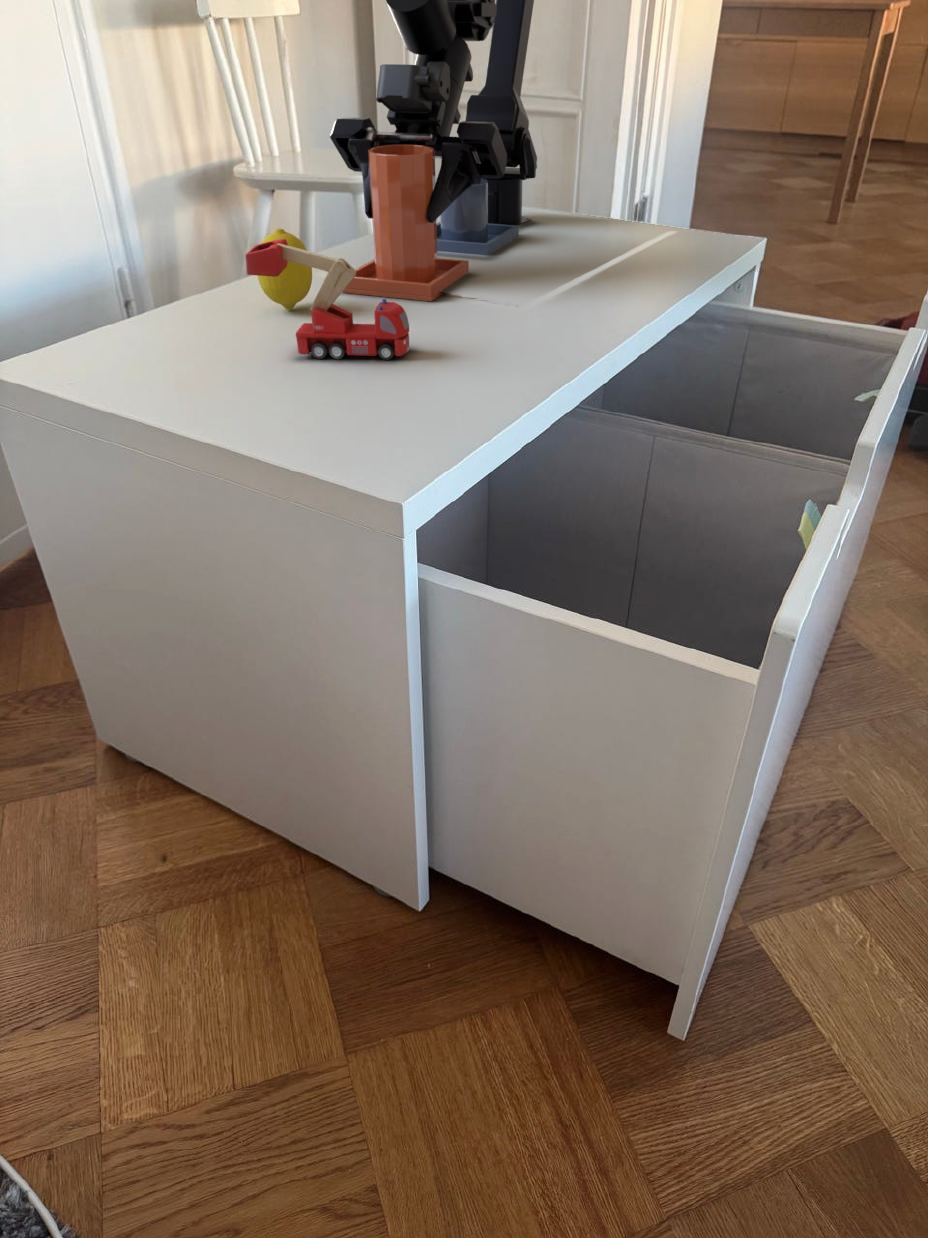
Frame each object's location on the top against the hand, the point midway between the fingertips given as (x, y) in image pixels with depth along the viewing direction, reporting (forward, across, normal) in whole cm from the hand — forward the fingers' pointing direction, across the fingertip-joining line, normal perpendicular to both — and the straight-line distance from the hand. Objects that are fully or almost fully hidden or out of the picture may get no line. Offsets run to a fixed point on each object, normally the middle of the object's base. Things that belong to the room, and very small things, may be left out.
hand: (398, 218), depth 97 cm
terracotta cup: (+4, 0, +6) cm, 7 cm away
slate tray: (-9, 0, +19) cm, 21 cm away
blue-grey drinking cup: (-9, 0, +19) cm, 21 cm away
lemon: (+13, -8, -3) cm, 16 cm away
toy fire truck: (+21, +4, -10) cm, 23 cm away
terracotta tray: (+4, 0, +6) cm, 7 cm away
